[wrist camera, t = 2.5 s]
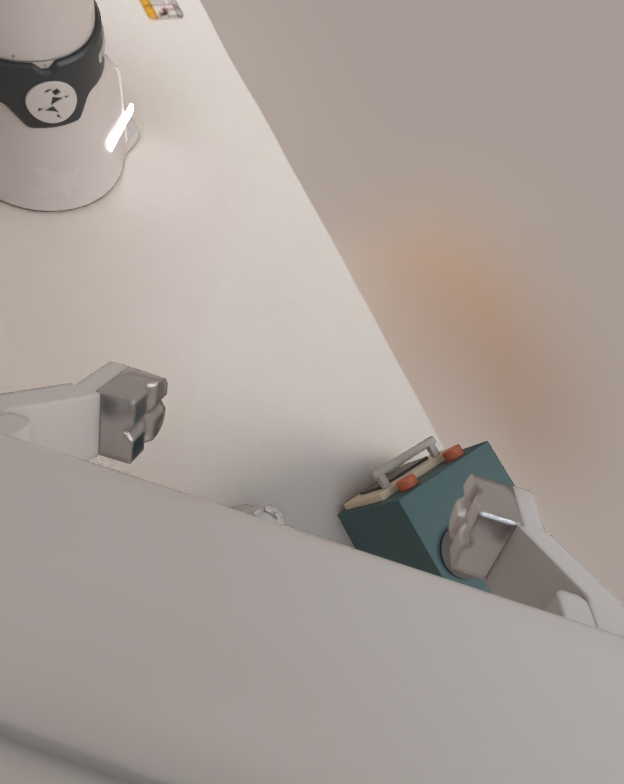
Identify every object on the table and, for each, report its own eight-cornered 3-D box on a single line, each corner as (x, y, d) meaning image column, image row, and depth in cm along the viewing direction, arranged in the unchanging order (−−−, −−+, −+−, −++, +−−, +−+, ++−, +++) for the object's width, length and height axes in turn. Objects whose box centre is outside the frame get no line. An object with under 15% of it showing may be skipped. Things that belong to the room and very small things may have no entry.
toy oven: (325, 493, 47) (383, 471, 36) (401, 447, 51) (474, 414, 40) (392, 614, 45) (474, 630, 34) (464, 556, 49) (559, 554, 38)
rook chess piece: (229, 497, 44) (247, 484, 36) (276, 515, 44) (303, 505, 37) (210, 548, 42) (226, 545, 35) (259, 565, 43) (284, 566, 36)
